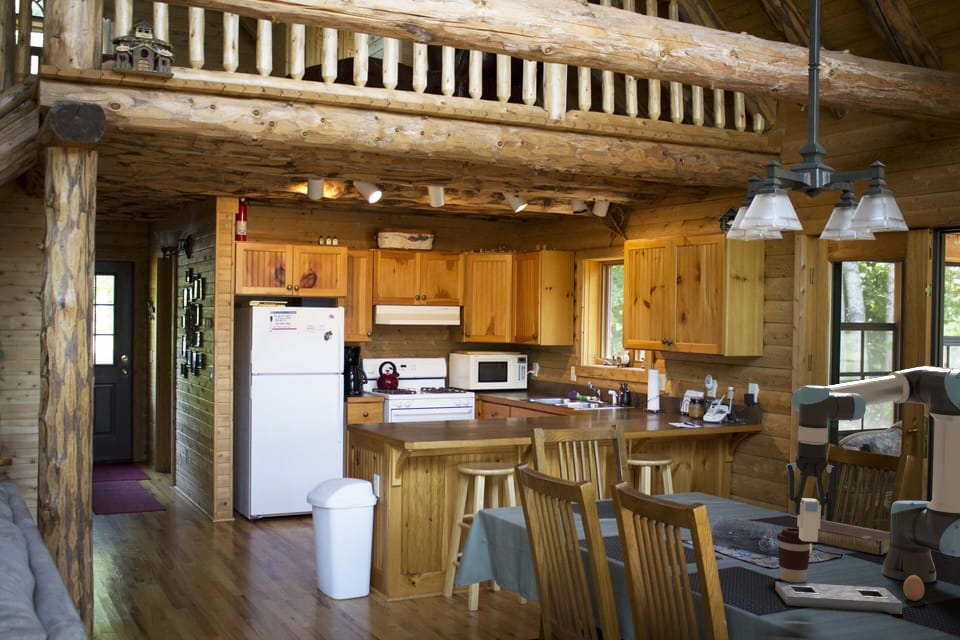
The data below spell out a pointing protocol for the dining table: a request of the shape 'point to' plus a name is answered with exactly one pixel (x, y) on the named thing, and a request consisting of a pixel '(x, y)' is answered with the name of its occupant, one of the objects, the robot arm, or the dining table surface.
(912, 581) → the egg
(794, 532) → the coffee cup
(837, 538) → the hardback book
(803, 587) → the panel
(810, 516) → the plug
